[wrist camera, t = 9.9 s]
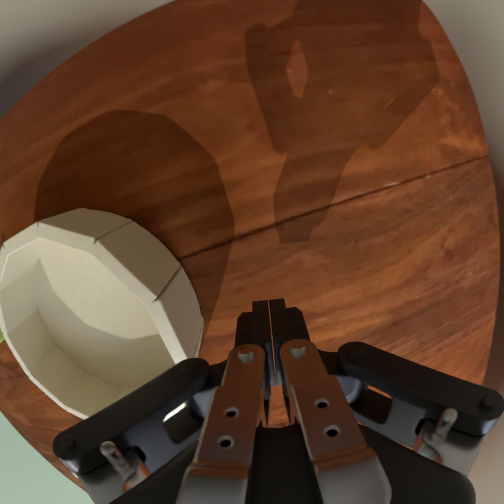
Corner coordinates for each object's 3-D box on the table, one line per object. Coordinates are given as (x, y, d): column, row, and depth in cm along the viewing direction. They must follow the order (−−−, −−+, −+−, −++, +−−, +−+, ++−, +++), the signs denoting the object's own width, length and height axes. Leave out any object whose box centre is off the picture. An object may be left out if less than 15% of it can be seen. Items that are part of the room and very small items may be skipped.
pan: (11, 246, 15) (-29, 264, 11) (155, 176, 14) (116, 180, 10) (135, 450, 22) (124, 482, 17) (264, 445, 21) (266, 485, 16)
